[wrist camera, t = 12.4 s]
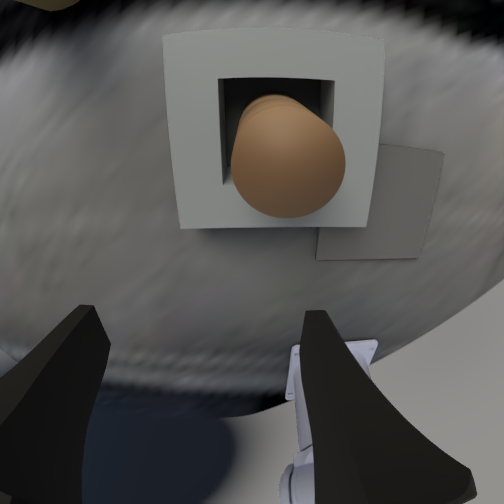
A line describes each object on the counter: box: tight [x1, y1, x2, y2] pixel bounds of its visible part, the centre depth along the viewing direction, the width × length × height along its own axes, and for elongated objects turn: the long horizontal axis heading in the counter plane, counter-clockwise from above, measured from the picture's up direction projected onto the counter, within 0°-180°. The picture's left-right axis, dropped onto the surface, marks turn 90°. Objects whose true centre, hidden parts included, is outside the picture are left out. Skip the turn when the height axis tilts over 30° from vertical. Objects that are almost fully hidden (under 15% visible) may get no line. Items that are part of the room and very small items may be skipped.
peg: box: [231, 92, 346, 218], centre depth 13 cm, size 4×4×8 cm
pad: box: [315, 144, 444, 260], centre depth 18 cm, size 8×8×1 cm
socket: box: [162, 27, 385, 229], centre depth 15 cm, size 10×10×3 cm
